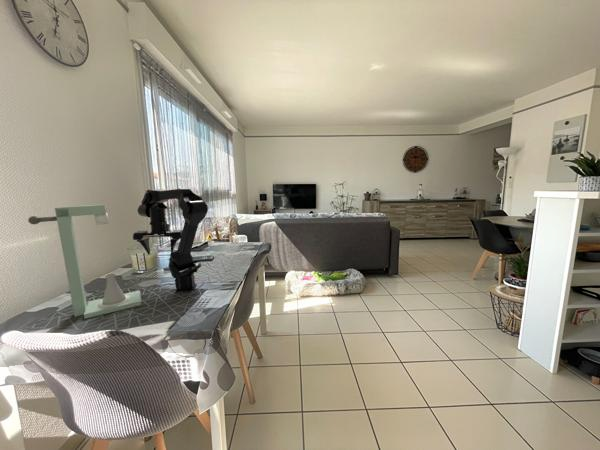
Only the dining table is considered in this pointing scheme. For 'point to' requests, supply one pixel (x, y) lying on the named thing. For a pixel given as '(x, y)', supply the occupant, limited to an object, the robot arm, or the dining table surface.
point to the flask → (112, 291)
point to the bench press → (73, 262)
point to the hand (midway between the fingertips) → (160, 253)
